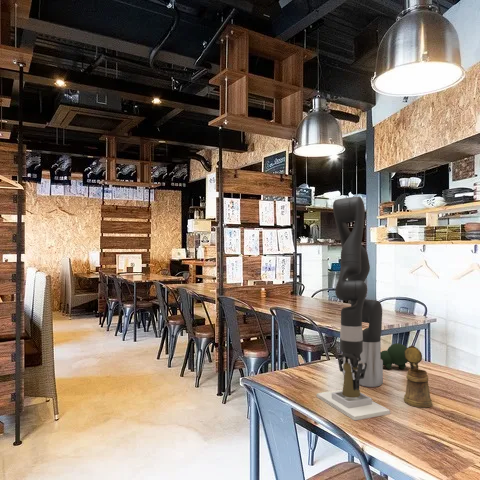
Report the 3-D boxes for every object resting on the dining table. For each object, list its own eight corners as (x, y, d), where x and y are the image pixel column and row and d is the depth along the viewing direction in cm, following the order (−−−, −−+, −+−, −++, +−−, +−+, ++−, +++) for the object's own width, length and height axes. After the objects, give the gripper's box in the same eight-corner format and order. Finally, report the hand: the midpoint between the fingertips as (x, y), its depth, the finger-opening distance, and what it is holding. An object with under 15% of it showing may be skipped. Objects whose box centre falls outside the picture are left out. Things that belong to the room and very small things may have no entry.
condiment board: (348, 391, 156) (348, 383, 156) (390, 413, 136) (390, 404, 136) (316, 396, 151) (316, 387, 151) (354, 420, 131) (354, 410, 131)
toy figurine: (361, 373, 184) (421, 371, 180) (357, 330, 184) (416, 327, 180) (358, 367, 193) (415, 365, 189) (354, 326, 193) (411, 323, 189)
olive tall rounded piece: (361, 398, 140) (361, 365, 140) (342, 396, 141) (342, 364, 141) (359, 391, 146) (359, 360, 146) (341, 390, 147) (341, 359, 147)
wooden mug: (424, 394, 154) (424, 345, 154) (435, 408, 140) (434, 355, 140) (399, 393, 155) (399, 344, 155) (407, 406, 142) (407, 353, 142)
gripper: (373, 341, 139) (374, 393, 138) (347, 333, 152) (348, 380, 152) (355, 343, 136) (355, 396, 136) (330, 334, 149) (330, 382, 149)
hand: (351, 387), depth 144 cm, fingers closed on olive tall rounded piece, 4 cm apart
